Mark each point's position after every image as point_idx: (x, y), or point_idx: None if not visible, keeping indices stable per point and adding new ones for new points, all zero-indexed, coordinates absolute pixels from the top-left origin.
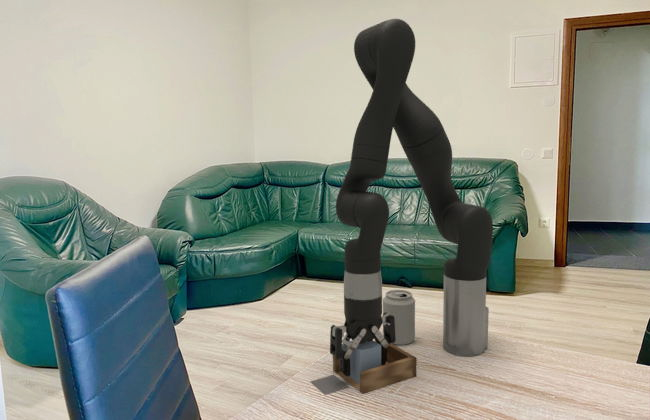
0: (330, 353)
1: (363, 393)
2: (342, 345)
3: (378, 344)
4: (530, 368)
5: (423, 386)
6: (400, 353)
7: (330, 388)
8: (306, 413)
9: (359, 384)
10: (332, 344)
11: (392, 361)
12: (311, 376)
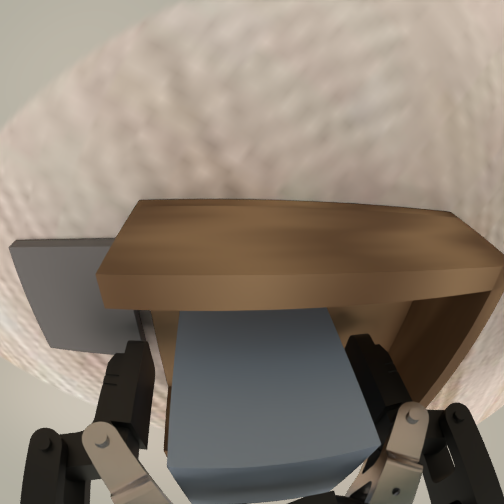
0: (35, 432)
1: None
2: (108, 486)
3: (326, 490)
4: (501, 378)
5: None
6: (422, 390)
7: (73, 330)
8: (8, 358)
9: None
10: (37, 491)
11: (420, 309)
12: (33, 172)
